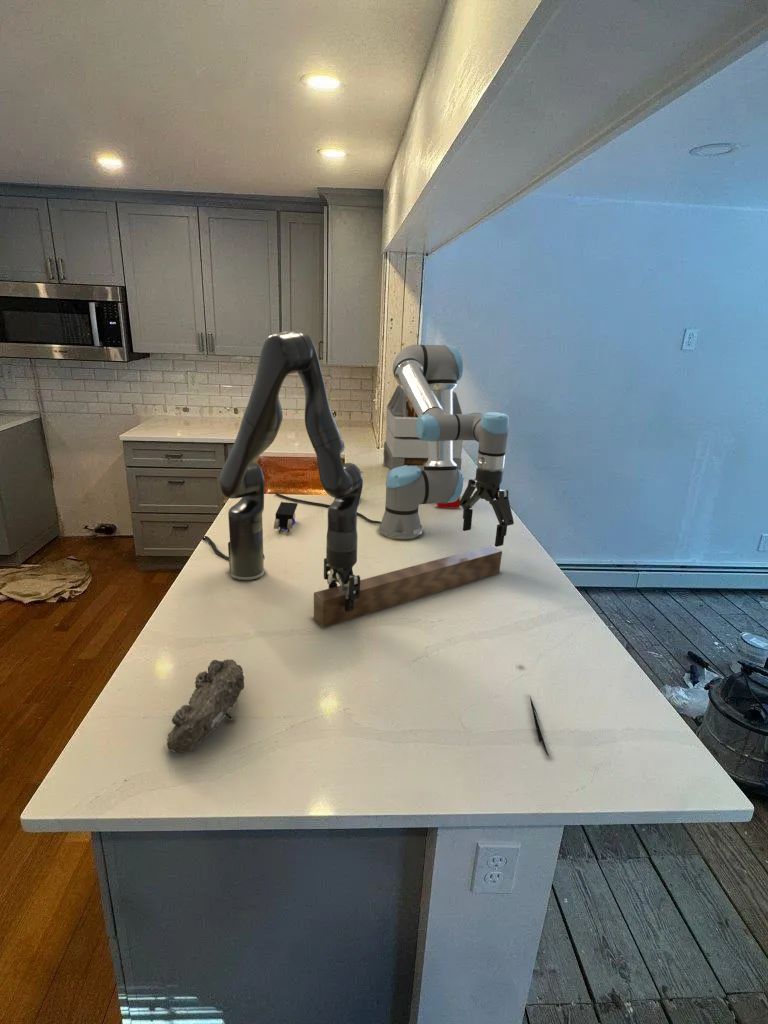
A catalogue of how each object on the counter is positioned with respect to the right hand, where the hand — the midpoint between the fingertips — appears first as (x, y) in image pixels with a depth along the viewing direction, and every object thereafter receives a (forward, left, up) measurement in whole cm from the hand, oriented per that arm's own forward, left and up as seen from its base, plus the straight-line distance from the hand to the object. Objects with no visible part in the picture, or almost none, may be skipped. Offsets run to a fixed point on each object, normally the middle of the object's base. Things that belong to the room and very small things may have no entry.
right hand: (482, 537), depth 168 cm
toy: (-58, +46, -12) cm, 75 cm away
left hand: (-5, -48, -8) cm, 49 cm away
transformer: (-91, +63, -12) cm, 111 cm away
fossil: (+11, -90, -12) cm, 91 cm away
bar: (-2, -24, -12) cm, 27 cm away
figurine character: (-65, -28, -12) cm, 72 cm away
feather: (+47, -38, -12) cm, 62 cm away
